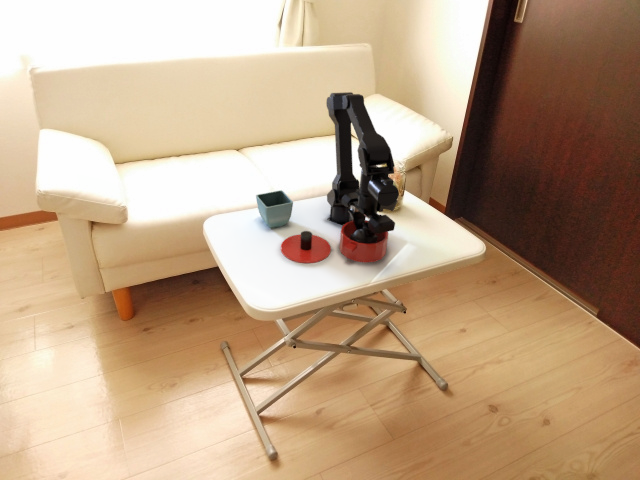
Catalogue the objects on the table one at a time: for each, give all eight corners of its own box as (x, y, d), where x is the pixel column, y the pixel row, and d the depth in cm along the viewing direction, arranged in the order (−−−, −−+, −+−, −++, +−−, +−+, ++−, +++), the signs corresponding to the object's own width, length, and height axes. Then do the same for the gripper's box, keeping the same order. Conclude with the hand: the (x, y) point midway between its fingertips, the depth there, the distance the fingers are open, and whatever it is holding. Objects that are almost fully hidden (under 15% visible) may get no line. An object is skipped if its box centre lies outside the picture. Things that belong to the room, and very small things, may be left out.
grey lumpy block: (357, 246, 126) (358, 233, 124) (349, 239, 129) (351, 226, 127) (376, 242, 129) (378, 229, 127) (369, 235, 132) (371, 222, 130)
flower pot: (266, 233, 136) (266, 207, 131) (255, 220, 142) (255, 194, 137) (293, 228, 139) (293, 202, 134) (281, 214, 146) (282, 189, 141)
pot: (325, 257, 127) (327, 238, 124) (358, 229, 140) (360, 211, 137) (367, 274, 121) (370, 254, 118) (396, 244, 135) (400, 225, 131)
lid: (270, 252, 127) (270, 236, 124) (299, 232, 138) (300, 216, 134) (312, 271, 121) (313, 254, 118) (339, 248, 131) (341, 231, 128)
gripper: (416, 198, 117) (406, 249, 125) (376, 170, 130) (370, 217, 139) (379, 206, 112) (372, 257, 120) (342, 176, 126) (338, 224, 134)
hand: (363, 237), depth 129 cm, fingers closed on grey lumpy block, 4 cm apart
